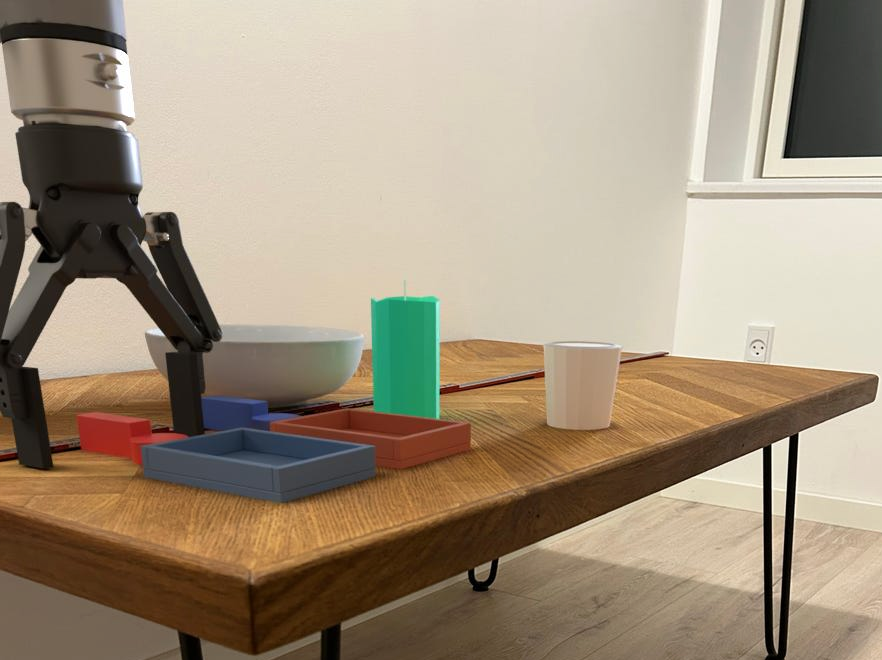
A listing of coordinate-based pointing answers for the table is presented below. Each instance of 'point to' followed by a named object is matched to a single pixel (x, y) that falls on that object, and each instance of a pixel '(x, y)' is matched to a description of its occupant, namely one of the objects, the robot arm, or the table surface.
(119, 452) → the red rounded step block
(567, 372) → the white cup
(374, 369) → the candle
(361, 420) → the red tray
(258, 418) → the blue rounded step block
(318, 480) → the blue tray
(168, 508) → the table surface
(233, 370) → the serving bowl
